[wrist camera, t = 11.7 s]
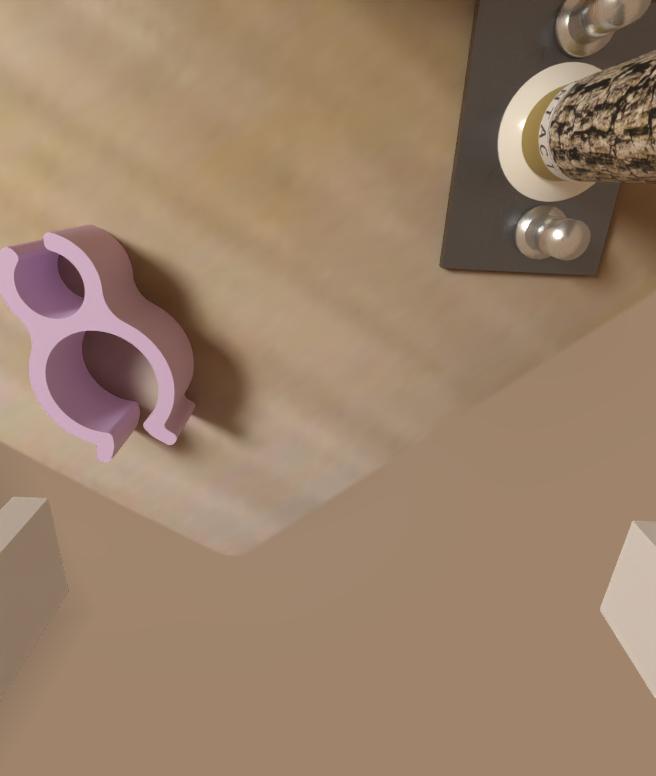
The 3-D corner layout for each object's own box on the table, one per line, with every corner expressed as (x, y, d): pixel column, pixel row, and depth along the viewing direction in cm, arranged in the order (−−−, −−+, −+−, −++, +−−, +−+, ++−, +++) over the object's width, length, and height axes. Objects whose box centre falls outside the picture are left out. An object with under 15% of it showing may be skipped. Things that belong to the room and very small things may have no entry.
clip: (8, 251, 44) (-45, 264, 38) (132, 209, 43) (98, 215, 37) (109, 434, 52) (79, 470, 46) (217, 404, 51) (201, 436, 44)
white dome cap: (510, 59, 37) (512, 58, 37) (639, 66, 37) (641, 65, 37) (487, 198, 41) (488, 198, 41) (603, 204, 41) (605, 204, 41)
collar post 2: (561, -16, 35) (604, -51, 30) (620, -12, 35) (674, -46, 30) (547, 56, 37) (585, 35, 32) (604, 59, 37) (652, 39, 32)
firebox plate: (476, -3, 37) (481, -8, 36) (658, 8, 37) (669, 3, 36) (439, 265, 45) (442, 268, 44) (589, 273, 45) (595, 275, 44)
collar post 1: (519, 203, 41) (548, 208, 36) (569, 206, 41) (607, 211, 36) (508, 256, 43) (535, 268, 38) (557, 259, 43) (591, 271, 38)
